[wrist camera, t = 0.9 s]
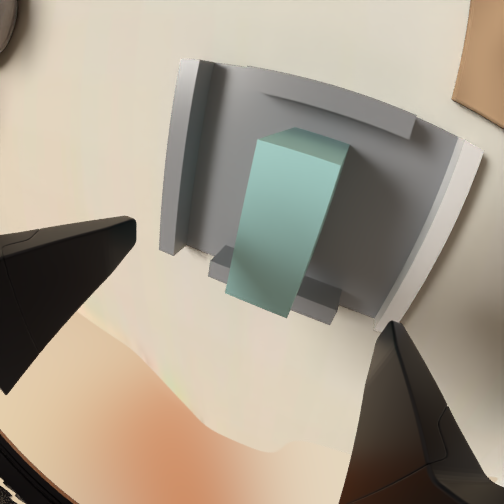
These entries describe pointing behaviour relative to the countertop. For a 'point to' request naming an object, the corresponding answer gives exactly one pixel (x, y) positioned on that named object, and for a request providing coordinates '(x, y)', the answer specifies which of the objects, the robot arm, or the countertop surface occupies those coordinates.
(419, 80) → the countertop surface
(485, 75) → the walnut board
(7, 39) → the coffee pot
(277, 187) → the block
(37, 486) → the robot arm
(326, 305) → the dispenser holder
